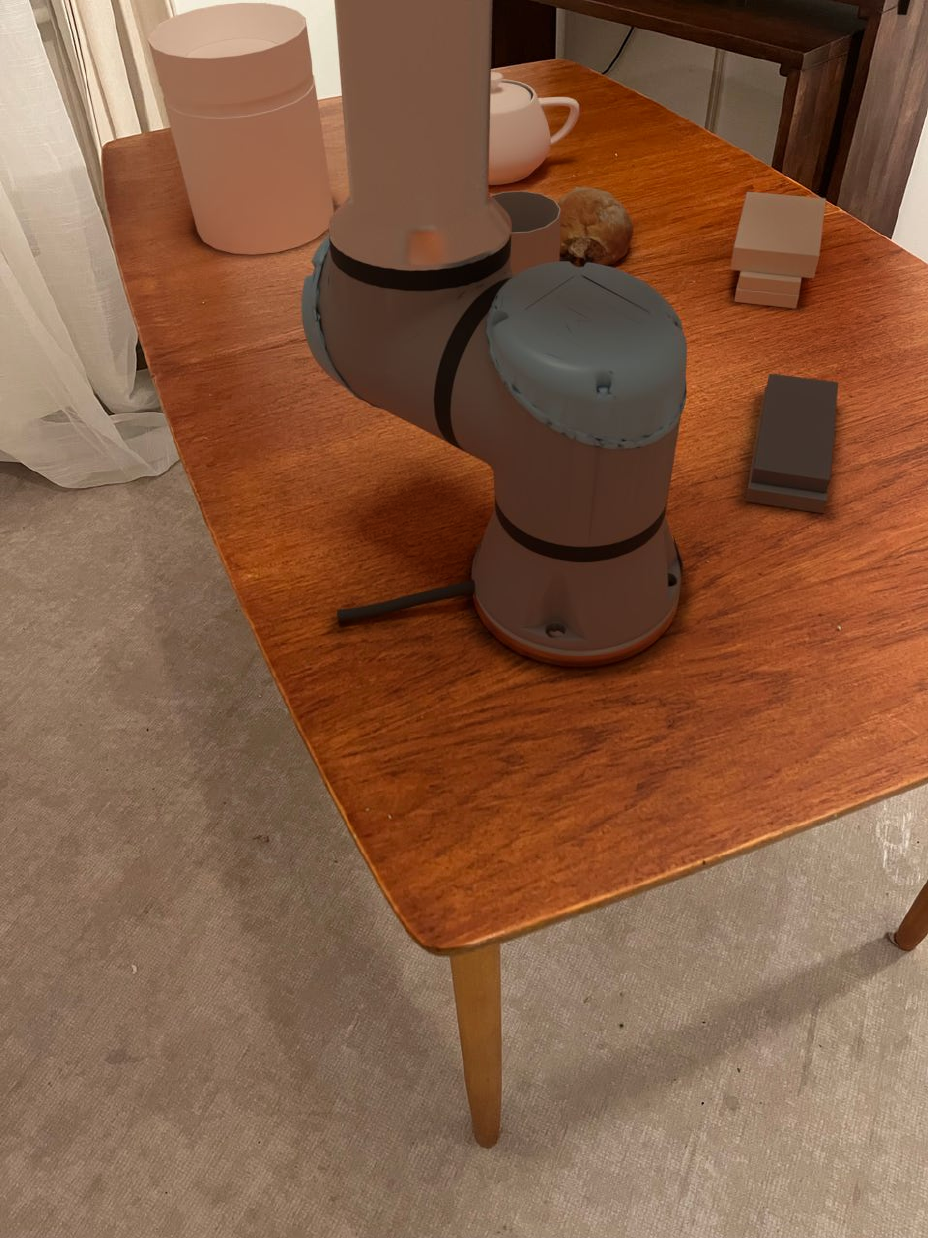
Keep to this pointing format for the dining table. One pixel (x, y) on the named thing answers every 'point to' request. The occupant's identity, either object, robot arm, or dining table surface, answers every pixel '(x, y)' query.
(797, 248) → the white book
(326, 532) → the dining table surface
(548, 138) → the teapot
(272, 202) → the canister
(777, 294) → the white stack
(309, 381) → the dining table surface
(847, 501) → the dining table surface
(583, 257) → the bread roll
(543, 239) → the cup
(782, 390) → the grey stack
